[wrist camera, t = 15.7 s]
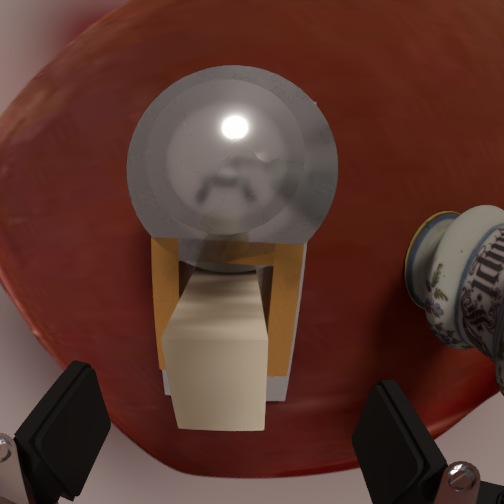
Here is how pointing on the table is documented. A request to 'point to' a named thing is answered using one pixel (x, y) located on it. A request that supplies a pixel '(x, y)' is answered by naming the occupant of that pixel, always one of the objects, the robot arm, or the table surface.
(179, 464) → the table surface
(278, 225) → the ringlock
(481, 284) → the apothecary jar
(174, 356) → the cream rectangular block
